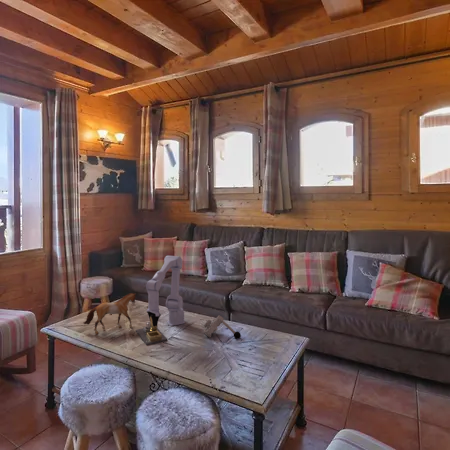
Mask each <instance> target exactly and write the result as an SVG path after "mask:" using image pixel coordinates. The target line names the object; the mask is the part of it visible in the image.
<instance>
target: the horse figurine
mask: <svg viewBox="0 0 450 450" xmlns="http://www.w3.org/2000/svg"><path fill="white" fill-rule="evenodd" d="M136 296H137V293H136V292H130V293H127V294H125V295H124V296H122V297H121V298H120V299H118V300H117V301H116V302H108V301H107V302H106V301H105V302H103V303H100V304H98V305H97V306H95V307H93V308H92V309H91V310H89V312H88V314H87V315H86V320H85V321H83V323H82V324H84V325H90V324H91V322H92V321H93V319H94V317H95V313H96V316H97V319H96V321H95V323H94V329H93V330H94V333H95V334H99V331H98V329H97V326H98V325H99V323H100V325H101V326H102V330H105V328H106V326H105V324H104V323H103V318H104V317H105V316H106V315H118V316H117V326H118V328H122V325H121V324H120V320H121V316H122V315H123V316H124V317H125V318H127V319H128V321H129V327H130V328H133V327H132V325H133V323H132V320H131V317H130V315H129V313H128V311H129V308H128V305H129V303H130V301H131V303H132V304H133V305H135V304H136V298H137V297H136Z"/></svg>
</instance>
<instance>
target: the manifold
mask: <svg viewBox="0 0 450 450" xmlns="http://www.w3.org/2000/svg"><path fill="white" fill-rule="evenodd" d="M135 332H136V334H137V335H138V336H139V337H140V339H141V340H142V342H143V343H144V344H145V345H146V346H149V345H153V344H154V345H155V344H159V343H162V342H167V341H168V338H167V337H166V336H165V335H164V334H163V332H162V331H161V330H160V329H159V328H158V330H157V331H150V321H147V322H146V324H145V326H144V327H142V328H138V329H135Z"/></svg>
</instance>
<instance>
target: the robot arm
mask: <svg viewBox="0 0 450 450" xmlns="http://www.w3.org/2000/svg"><path fill="white" fill-rule="evenodd" d="M170 269H171V281H170V282H171V283H170V284H171V285H170V294H169V295H168V296H167V297H166V301H165V307H166V309H167V311H168V320H167V321H166V323H167V324H168V325H169V326H170V327H174V326H178V325H183V324H186V322H185V311H184V308H183V306H184V301H183V297H182V296H181V295H180V294H179V293H180V276H181V274H180V273H181V269H183V259H182V256H180V255H179V256H178V255H177V256H176V255H166V256H165V257H164V259H163V265H162V266H161V268H160V269H159V270H158V271H156V272H155V273H154V275H153V276H152V278H151V279H149V280H148V281H147V282H146V285H145V289H146V290H147V291H146V293H147V294H148V298H147V299H148V300H147V301H148V304H147V309H146V313H147V315H148V318H149V320H150V316H151V318H152V323H153V326H157V327H158V323H159V320H160V318H161V315H162V314H161V312H160V304H159V303H160V300H159V299H160V297H159V296H160V295H159V293H160V292H159V291H160V290H161V286H162V283H163V282H164V280H165V278H166V273H167V272H168V271H169V270H170Z"/></svg>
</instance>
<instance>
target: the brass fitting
mask: <svg viewBox="0 0 450 450" xmlns="http://www.w3.org/2000/svg"><path fill="white" fill-rule="evenodd" d="M149 322H150V331H157V330H158V329H159V328H158V325H157V326H153V323H152V318H151V316H150V319H149Z"/></svg>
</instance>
